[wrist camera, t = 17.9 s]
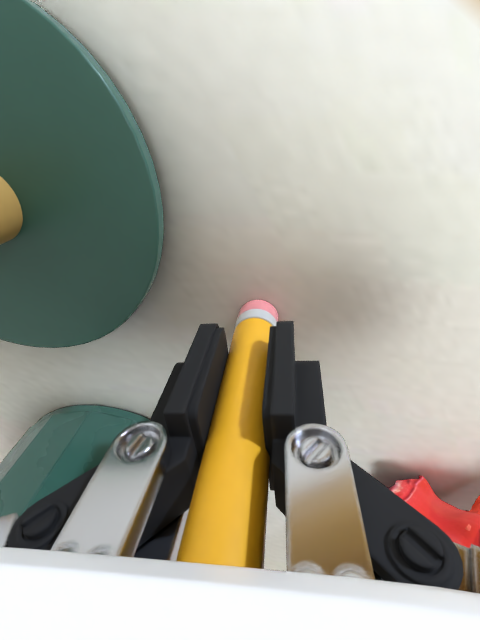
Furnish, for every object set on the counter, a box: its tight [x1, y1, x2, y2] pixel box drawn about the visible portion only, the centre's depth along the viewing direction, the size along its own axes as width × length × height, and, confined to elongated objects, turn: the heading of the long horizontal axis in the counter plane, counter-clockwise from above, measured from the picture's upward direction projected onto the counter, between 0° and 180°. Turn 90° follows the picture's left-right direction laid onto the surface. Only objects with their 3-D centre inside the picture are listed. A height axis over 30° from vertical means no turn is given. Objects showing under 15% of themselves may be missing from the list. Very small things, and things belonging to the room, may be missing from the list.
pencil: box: [176, 300, 278, 569], centre depth 8 cm, size 2×2×13 cm
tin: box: [0, 405, 150, 517], centre depth 16 cm, size 11×11×10 cm
